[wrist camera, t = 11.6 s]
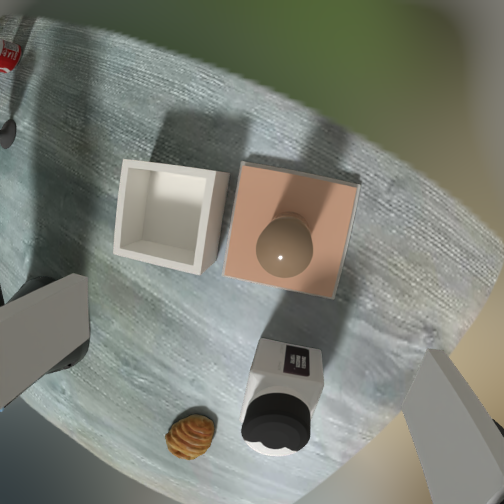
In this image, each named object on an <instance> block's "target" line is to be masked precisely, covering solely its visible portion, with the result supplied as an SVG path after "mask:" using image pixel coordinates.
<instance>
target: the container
mask: <svg viewBox="0 0 504 504" xmlns="http://www.w3.org/2000/svg"><path fill="white" fill-rule="evenodd" d="M323 387H324V376H323V364H322V352H321V350H319V349H315V348H309V347H304V346H299V345H294V344H289V343H284V342H279V341H274V340H269V339H265V338H261V339H259V342H258V345H257V349H256V352H255V356H254V359H253V362H252V366H251V369H250V373H249V378H248V382H247V387H246V391H245V396H244V400H243V405H242V409H241V414H240V418H239V419H240V422H242V423H243V425H242V429H241V433H242V437H243V439H244V441H245V442H246V443H247V444H248V445H249V446H250V447H251V448H252V449H253V450H255V451H257V452H259V453H261V454H264V455H269V456H286V455H290V454H293V453H295V452H297V451H299V450H300V449H302V448H303V447H304V446H305V445H306V444H307V443H308V441H309V439H310V421H311V419H312V416H313V414H314V411H315V409H316V406H317V403H318V401H319V398H320V396H321V393H322V390H323Z"/></svg>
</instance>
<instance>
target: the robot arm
mask: <svg viewBox="0 0 504 504" xmlns="http://www.w3.org/2000/svg"><path fill="white" fill-rule="evenodd" d="M89 338H90V333H89V314H88V277H85V276H82V275H78V274H75V273H72V274H70V275H68V276H66V277H64V278H61V279H59V280H57V281H56V280H54V279H52V278H49V277H37V278H35V279H32V280H30V281H28V282H26V283H25V284H23V285H22V287H21V288H20V289H19V291H18V292H17V293H16V294H15V295H14V296H13V297H12V298H11V299H10V300H9V301H8V302H7V303H6V304H5V303H4V299H3V295H2V290H1V285H0V411H3V410H4V408H5V407H6V406H7V405H9V404H10V403H11V402H12V401H13V400H14V399H16V398H17V397H18V396H19V395H21V394H22V393H23V392H24V391H25V390H27V389H28V388H29V387H30V386H32V385H33V384H34V383H35V382H36V381H37V380H39V379H40V378H41V377H43V376H44V375H46V374H49V373H53V372H57V371H60V370H63V369H68V368H71V367H73V366H74V365H76V364H77V363H78V362H79V361H81V360H82V359H83V358H84V356H85V355H86V353H87V350H88V346H89ZM401 409H402V411H403V414H404V416H405V419H406V422H407V425H408V427H409V430H410V433H411V436H412V439H413V442H414V445H415V448H416V450H417V454H418V456H419V459H420V463H421V466H422V468H423V472H424V475H425V478H426V482H427V485H428V488H429V491H430V495H431V498H432V502H433V504H504V429H503V427H502V426H500V425H499V424H498V423H497V422H496V421H495V420H494V419H492V418H491V417H490V416H489V414H488V412H487V411H486V409H485V408H484V406H483V405H482V403H481V402H480V401H479V399H478V397H477V396H476V395H475V393H474V392H473V390H472V389H471V387H470V386H469V385H468V383H467V382H466V380H465V379H464V377H463V376H462V375H461V373H460V372H459V371H458V369H457V368H456V366H455V365H454V364H453V363H452V361H451V360H450V358H449V357H448V356H447V354H446V353H445V352H444V350H436V349H427V350H426V353H425V355H424V358H423V360H422V362H421V365H420V367H419V369H418V371H417V374H416V376H415V378H414V380H413V382H412V385H411V387H410V389H409V391H408V393H407V395H406V397H405V399H404V401H403V403H402V405H401Z"/></svg>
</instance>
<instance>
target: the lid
mask: <svg viewBox="0 0 504 504" xmlns="http://www.w3.org/2000/svg"><path fill="white" fill-rule="evenodd" d="M356 189H357V188H355V187H350V186H346V185H342V184H337V183H333V182H328V181H323V180H319V179H314V178H309V177H304V176H299V175H294V174H289V173H283V172H278V171H272V170H267V169H261V168H255V167H249V166H242V171H241V177H240V183H239V189H238V194H237V200H236V206H235V212H234V218H233V224H232V230H231V236H230V242H229V249H228V255H227V261H226V267H225V274H224V275H226V276H231V277H235V278H240V279H245V280H249V281H254V282H259V283H263V284H268V285H273V286H277V287H282V288H287V289H292V290H297V291H302V292H306V293H311V294H316V295H321V296H326V297H331V298H332V294H333V290H334V287H335V283H336V279H337V275H338V271H339V267H340V263H341V259H342V254H343V250H344V246H345V242H346V237H347V233H348V228H349V224H350V219H351V214H352V209H353V204H354V199H355V194H356Z"/></svg>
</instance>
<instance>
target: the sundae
mask: <svg viewBox="0 0 504 504" xmlns="http://www.w3.org/2000/svg"><path fill="white" fill-rule="evenodd" d="M15 134H16V126H15V123H14V121H13V120H8V121H6V123H5V124H4V125H3V127H2V129H1V130H0V143H1V146H2V147H3V148H4V149H7V148H9V147H10V146H11V145H12V143H13V141H14V138H15Z"/></svg>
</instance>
